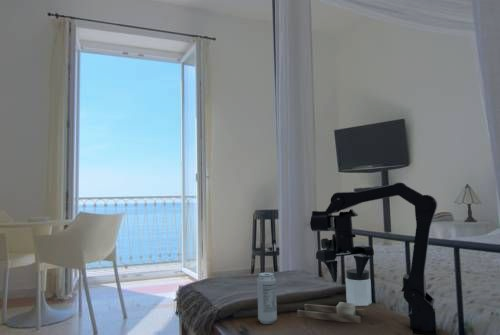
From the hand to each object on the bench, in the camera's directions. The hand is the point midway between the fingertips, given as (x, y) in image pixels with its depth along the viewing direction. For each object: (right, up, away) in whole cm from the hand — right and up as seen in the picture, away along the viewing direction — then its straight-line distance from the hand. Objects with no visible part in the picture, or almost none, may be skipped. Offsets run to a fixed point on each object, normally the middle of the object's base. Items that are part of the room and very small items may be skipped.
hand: (347, 280), depth 123 cm
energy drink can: (-25, -14, +1) cm, 29 cm away
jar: (+9, -14, +18) cm, 24 cm away
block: (0, -12, +1) cm, 12 cm away
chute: (-5, -13, +3) cm, 14 cm away
